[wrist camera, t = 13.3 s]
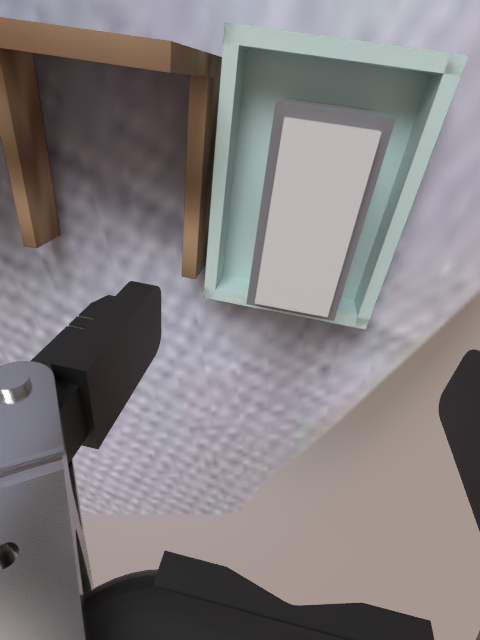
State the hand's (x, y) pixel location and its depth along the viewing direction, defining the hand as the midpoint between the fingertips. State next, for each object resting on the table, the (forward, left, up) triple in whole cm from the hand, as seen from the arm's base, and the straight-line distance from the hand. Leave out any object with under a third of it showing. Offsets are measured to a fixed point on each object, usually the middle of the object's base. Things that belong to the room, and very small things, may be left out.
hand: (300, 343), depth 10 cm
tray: (0, 0, -18) cm, 18 cm away
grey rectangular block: (0, 0, -17) cm, 17 cm away
